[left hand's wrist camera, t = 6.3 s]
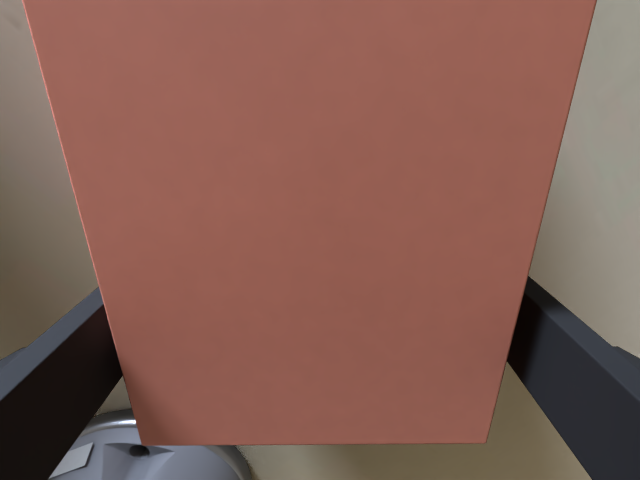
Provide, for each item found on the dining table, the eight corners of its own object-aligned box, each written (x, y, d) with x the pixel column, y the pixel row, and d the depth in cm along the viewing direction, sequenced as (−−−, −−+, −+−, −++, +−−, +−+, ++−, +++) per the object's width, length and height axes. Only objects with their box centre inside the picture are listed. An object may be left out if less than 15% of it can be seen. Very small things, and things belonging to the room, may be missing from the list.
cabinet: (182, -63, 15) (-87, -393, 5) (444, -62, 15) (696, -385, 5) (223, 286, 21) (141, 447, 11) (407, 285, 22) (486, 444, 11)
